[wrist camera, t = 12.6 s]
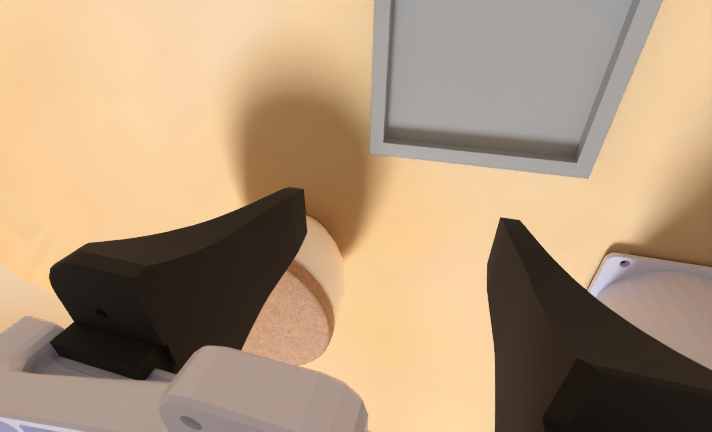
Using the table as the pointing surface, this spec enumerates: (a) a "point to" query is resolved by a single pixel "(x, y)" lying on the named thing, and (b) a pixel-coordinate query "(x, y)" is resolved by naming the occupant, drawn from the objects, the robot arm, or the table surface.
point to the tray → (503, 79)
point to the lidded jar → (302, 303)
